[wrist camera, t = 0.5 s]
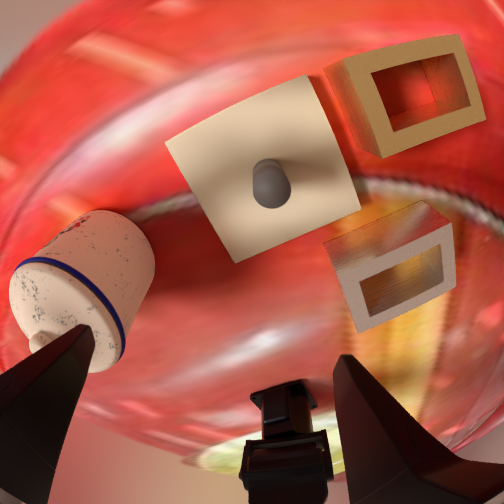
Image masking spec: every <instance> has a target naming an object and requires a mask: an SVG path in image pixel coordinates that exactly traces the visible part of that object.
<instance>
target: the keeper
mask: <svg viewBox="0 0 504 504" xmlns="http://www.w3.org/2000/svg"><path fill="white" fill-rule="evenodd" d="M164 143H165V144H166V146H167V148H168V150H169V151H170V153H171V155H172V157H173V158H174V160H175V162H176V164H177V165H178V167H179V169H180V171H181V172H182V174H183V176H184V178H185V179H186V181H187V183H188V185H189V186H190V188H191V190H192V192H193V193H194V195H195V197H196V199H197V200H198V202H199V204H200V205H201V207H202V209H203V211H204V212H205V214H206V216H207V217H208V219H209V221H210V223H211V224H212V226H213V228H214V229H215V231H216V233H217V234H218V236H219V238H220V239H221V241H222V243H223V245H224V246H225V248H226V250H227V251H228V253H229V255H230V256H231V258H232V260H233V261H234V263H238V262H240V261H242V260H245V259H247V258H249V257H252V256H254V255H256V254H259V253H261V252H263V251H266V250H268V249H270V248H273V247H275V246H277V245H280V244H282V243H284V242H287V241H289V240H291V239H294V238H296V237H298V236H301V235H303V234H305V233H308V232H310V231H312V230H315V229H317V228H319V227H322V226H324V225H326V224H329V223H331V222H333V221H335V220H338V219H340V218H342V217H345V216H347V215H349V214H352V213H354V212H356V211H359V210H361V206H360V203H359V200H358V197H357V194H356V191H355V188H354V185H353V182H352V180H351V177H350V174H349V171H348V169H347V166H346V163H345V161H344V158H343V156H342V153H341V151H340V148H339V146H338V143H337V141H336V138H335V136H334V133H333V131H332V129H331V126H330V124H329V122H328V119H327V117H326V115H325V113H324V110H323V108H322V106H321V104H320V102H319V99H318V97H317V95H316V93H315V91H314V89H313V87H312V85H311V83H310V81H309V79H308V77H307V75H306V74H305V75H302V76H299V77H297V78H294V79H292V80H289V81H287V82H284V83H282V84H279V85H277V86H274V87H272V88H270V89H267V90H265V91H263V92H261V93H258V94H256V95H254V96H252V97H249V98H247V99H245V100H243V101H241V102H239V103H237V104H235V105H232V106H230V107H228V108H226V109H224V110H222V111H220V112H218V113H216V114H215V115H213V116H211V117H209V118H207V119H205V120H203V121H201V122H199V123H197V124H196V125H194V126H192V127H190V128H188V129H187V130H185V131H183V132H181V133H180V134H178V135H176V136H174V137H173V138H171V139H169V140H168V141H166V142H164Z"/></svg>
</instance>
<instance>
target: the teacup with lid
mask: <svg viewBox="0 0 504 504" xmlns="http://www.w3.org/2000/svg"><path fill="white" fill-rule="evenodd" d="M154 274H155V259H154V254H153V251H152V248H151V246H150V243H149V242H148V240H147V238H146V237H145V235H144V234H143V232H142V231H141V230H140V229H139V228H138V227H137V226H136V225H135V224H134V223H133V222H132V221H130V220H129V219H127V218H126V217H124V216H122V215H120V214H118V213H115V212H111V211H106V210H95V211H90V212H87V213H85V214H83V215H81V216H80V217H79V218H77V219H76V220H75V221H74V222H72V223H71V224H70V225H69V226H68V227H66V228H65V229H64V230H63V231H62V232H60V233H59V234H58V235H57V236H56V237H54V238H53V239H52V240H51V241H50V242H49V243H48V244H46V245H45V246H44V247H43V248H42V249H41V250H40V251H39V252H38V253H36V254H35V255H34V256H33V257H32V258H28V259H26V260H24V261H23V262H21V263H20V264H19V265H18V266H17V268H16V269H15V271H14V273H13V276H12V278H11V281H10V287H9V298H10V304H11V308H12V311H13V314H14V316H15V318H16V320H17V322H18V324H19V326H20V327H21V329H22V330H23V332H24V333H25V335H26V336H27V337H28V338H29V340H30V341H29V347H30V350H31V352H32V354H33V353H35V352H36V351H38V350H39V349H41V348H42V347H44V346H45V345H47V344H48V343H50V342H52V341H53V340H55V339H56V338H58V337H59V336H61V335H62V334H64V333H66V332H67V331H69V330H70V329H72V328H74V327H75V326H77V325H78V324H86V325H89V326H90V327H91V328H92V332H93V335H94V339H95V349H94V352H93V356H92V359H91V363H90V366H89V370H88V372H89V373H93V372H101V371H104V370H106V369H109V368H110V367H112V366H113V365H114V364H115V363H116V362H117V361H119V359H120V358H121V357H122V355H123V353H124V350H125V342H126V337H127V334H128V332H129V330H130V328H131V325H132V323H133V321H134V319H135V317H136V315H137V312H138V310H139V308H140V306H141V304H142V302H143V300H144V298H145V296H146V293H147V291H148V289H149V287H150V285H151V283H152V281H153V278H154Z"/></svg>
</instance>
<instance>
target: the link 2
mask: <svg viewBox="0 0 504 504" xmlns="http://www.w3.org/2000/svg"><path fill="white" fill-rule="evenodd" d="M323 245H324V247H325V250H326V252H327V255H328V257H329V260H330V262H331V265H332V267H333V270H334V273H335V275H336V278H337V280H338V283H339V286H340V289H341V291H342V294H343V297H344V299H345V302H346V304H347V307H348V309H349V312H350V314H351V317H352V319H353V322H354V324H355V327H356V329H357V332H358V334H359V333H361V332H364V331H366V330H368V329H371V328H373V327H375V326H377V325H380V324H382V323H384V322H386V321H389V320H391V319H393V318H395V317H397V316H400V315H402V314H404V313H406V312H408V311H410V310H412V309H414V308H416V307H418V306H420V305H422V304H424V303H426V302H428V301H430V300H432V299H434V298H436V297H438V296H440V295H442V294H443V293H445V292H447V291H449V290H451V289H453V288H454V287H456V269H455V252H454V240H453V230H452V222H451V221H449V220H448V219H447V218H445V217H444V216H443V215H441V214H440V213H438V212H437V211H436V210H434V209H433V208H432V207H430V206H429V205H427V204H426V203H424V202H423V201H422V200H421V201H419V202H417V203H414V204H412V205H410V206H408V207H406V208H403V209H401V210H399V211H397V212H394V213H392V214H390V215H388V216H385V217H383V218H381V219H379V220H376V221H374V222H372V223H370V224H367V225H365V226H363V227H360V228H358V229H356V230H354V231H351V232H349V233H347V234H344V235H342V236H340V237H337V238H335V239H333V240H330V241H328V242H326V243H323Z"/></svg>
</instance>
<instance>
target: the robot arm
mask: <svg viewBox="0 0 504 504" xmlns="http://www.w3.org/2000/svg"><path fill="white" fill-rule="evenodd" d="M94 349H95V339H94V335H93V332H92V328H91V327H90V326H89V325H86V324H78V325H77V326H75V327H74V328H72V329H70V330H69V331H67V332H66V333H64V334H62V335H61V336H59V337H58V338H56V339H55V340H53V341H52V342H50V343H48V344H47V345H45V346H44V347H42V348H41V349H39V350H38V351H36V352H35V353H33V354H31V355H30V356H28V357H27V358H25V359H24V360H22V361H21V362H19V363H18V364H16V365H15V366H14V367H12V368H10V369H9V370H7V371H6V372H4V373H2V374H1V375H0V504H23V502H24V503H26V504H47V503H48V499H49V494H50V489H51V486H52V482H53V478H54V474H55V469H56V466H57V463H58V459H59V456H60V453H61V449H62V446H63V443H64V440H65V436H66V434H67V430H68V427H69V425H70V422H71V419H72V416H73V413H74V410H75V407H76V405H77V402H78V399H79V397H80V394H81V391H82V389H83V386H84V383H85V381H86V377H87V374H88V370H89V366H90V363H91V359H92V356H93V352H94ZM333 382H334V396H335V411H336V417H337V423H338V428H339V434H340V440H341V446H342V452H343V458H344V465H345V471H346V478H347V485H348V493H349V500H350V504H504V464H498V463H486V462H478V461H470V460H465V459H462V458H460V457H458V456H457V455H455V454H454V453H453V452H451V451H450V450H449V449H448V448H447V447H445V446H444V445H443V444H442V443H440V442H439V441H438V440H437V439H436V438H434V437H433V436H432V435H431V434H430V433H429V432H428V431H426V430H425V429H424V428H423V427H422V426H421V425H420V424H419V423H418V422H417V421H416V420H415V419H414V418H413V417H412V416H410V414H409V413H408V412H407V411H406V410H405V409H404V408H403V407H402V406H401V404H400V403H399V402H398V401H397V400H396V399H395V398H394V397H393V396H392V395H391V394H390V393H389V392H388V391H387V390H386V389H385V388H384V387H383V386H382V385H381V384H380V383H379V382H378V381H377V380H376V379H375V378H374V377H373V376H372V375H371V374H370V373H369V372H368V370H367V369H366V368H365V367H364V366H363V365H362V364H361V363H360V362H359V361H358V360H357V359H356V358H355V357H354V356H353V355H351V354H342V355H340V357H339V359H338V361H337V363H336V365H335V368H334V370H333ZM250 400H251V401H252V402H253V403H254V404H255V405H256V406H257V407H258V408H259V409H260V410H261V415H262V439H261V440H246V445H245V446H244V452H243V458H242V465H241V469H240V472H239V478H240V479H241V480H242V481H243V485H244V488H245V490H247V491H248V493H249V500H248V501H249V504H325V502H326V501H327V498H328V487H327V482H330V481H334V475H333V466H332V460H331V454H330V448H329V443H328V438H327V433H326V429H324V430H321V431H317V432H313V425H312V418H311V411H310V410H311V409H314V408H317V406H318V405H317V402H316V401H315V399H314V398H313V396H312V395H311V393H310V391H309V390H308V388H307V387H306V385H305V384H304V382H303V381H301V380H299V381H295V382H292V383H288V384H285V385H282V386H278V387H275V388H271V389H268V390H264V391H261V392H257V393H253V394H251V395H250ZM322 450H323V451H322Z"/></svg>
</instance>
